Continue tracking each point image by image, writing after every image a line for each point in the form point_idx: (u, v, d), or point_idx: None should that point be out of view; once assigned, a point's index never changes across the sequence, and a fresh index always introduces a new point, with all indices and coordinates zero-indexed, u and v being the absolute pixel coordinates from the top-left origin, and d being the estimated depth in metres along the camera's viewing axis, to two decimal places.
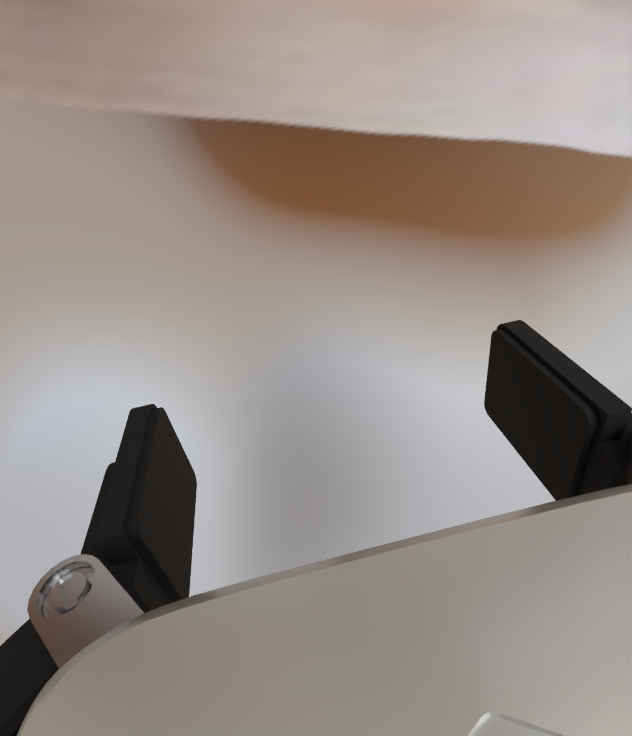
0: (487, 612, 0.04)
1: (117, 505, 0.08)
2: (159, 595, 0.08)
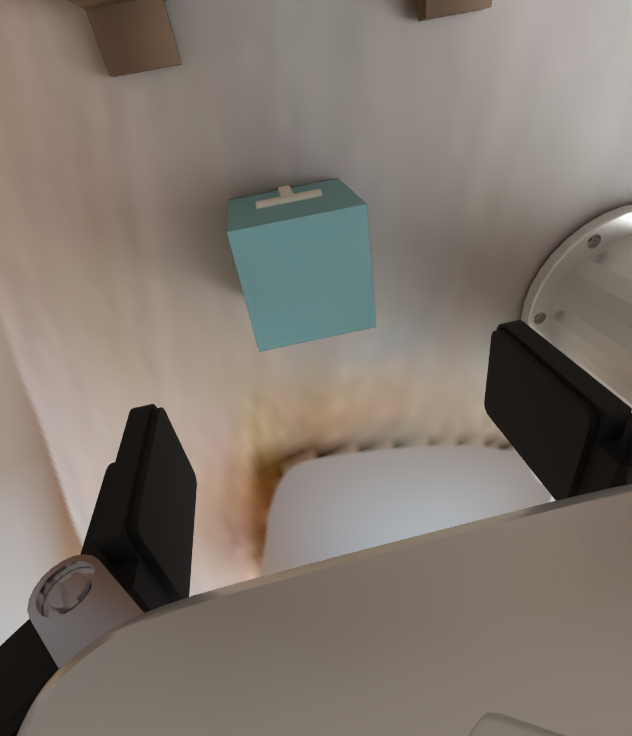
0: (487, 612, 0.04)
1: (117, 505, 0.08)
2: (159, 595, 0.08)
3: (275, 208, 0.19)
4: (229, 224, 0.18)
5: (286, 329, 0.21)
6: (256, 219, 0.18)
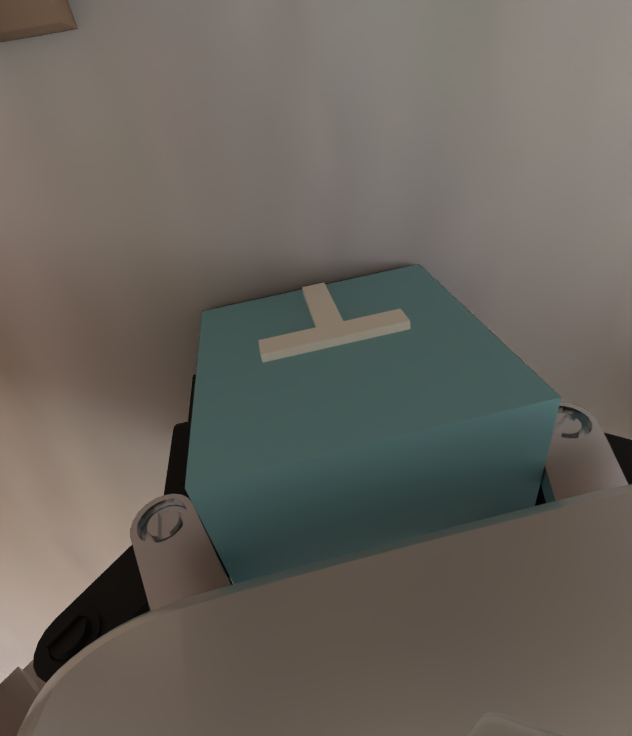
0: (487, 612, 0.04)
1: None
2: None
3: (307, 371, 0.08)
4: (196, 435, 0.07)
5: None
6: (265, 422, 0.07)
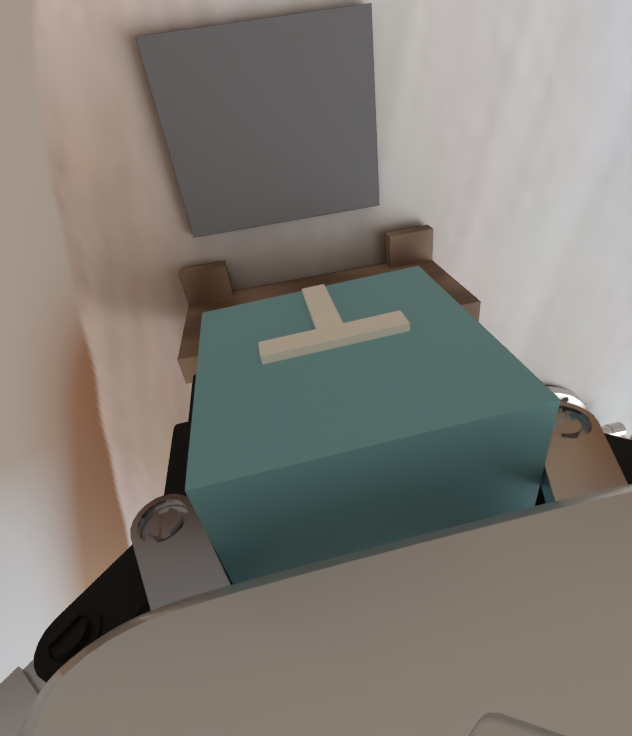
0: (487, 612, 0.04)
1: None
2: None
3: (307, 373, 0.08)
4: (195, 438, 0.07)
5: None
6: (264, 424, 0.07)
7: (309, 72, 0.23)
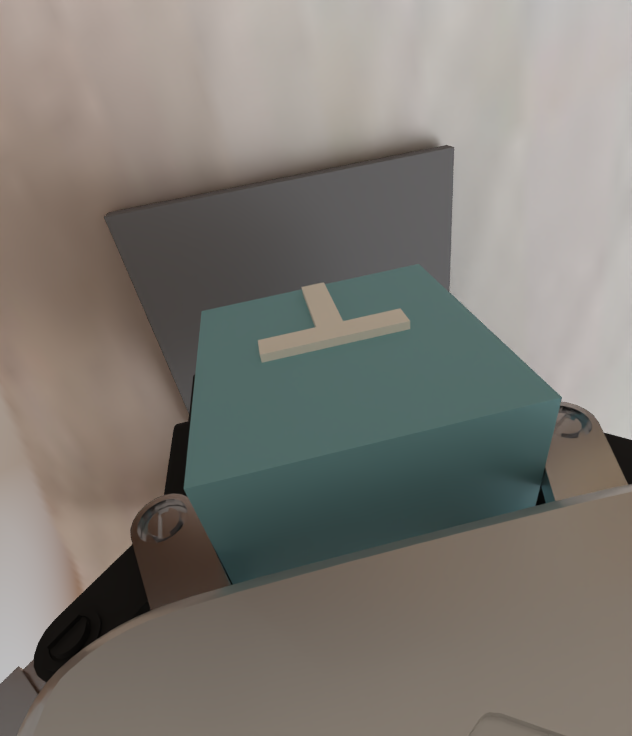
0: (487, 612, 0.04)
1: None
2: None
3: (307, 371, 0.08)
4: (195, 436, 0.07)
5: None
6: (264, 422, 0.07)
7: (360, 239, 0.16)
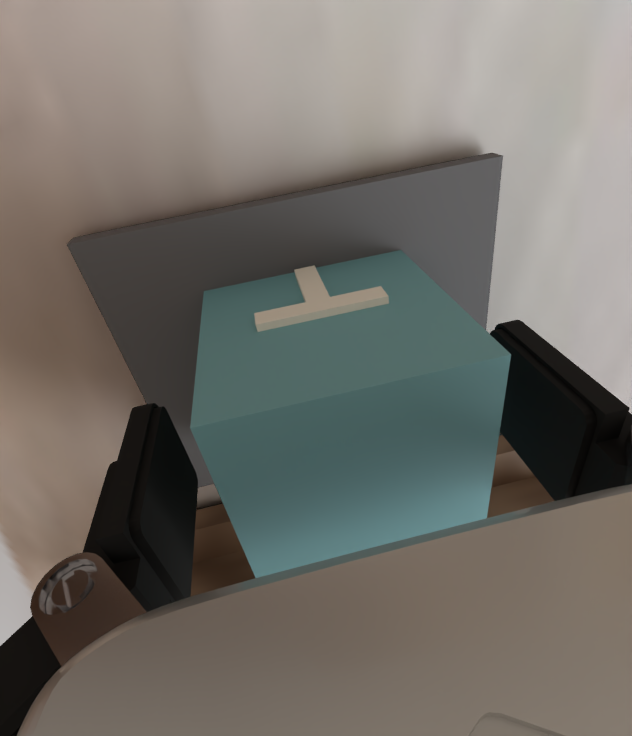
0: (487, 612, 0.04)
1: (119, 503, 0.08)
2: (161, 593, 0.09)
3: (297, 337, 0.09)
4: (199, 389, 0.08)
5: None
6: (259, 377, 0.08)
7: None
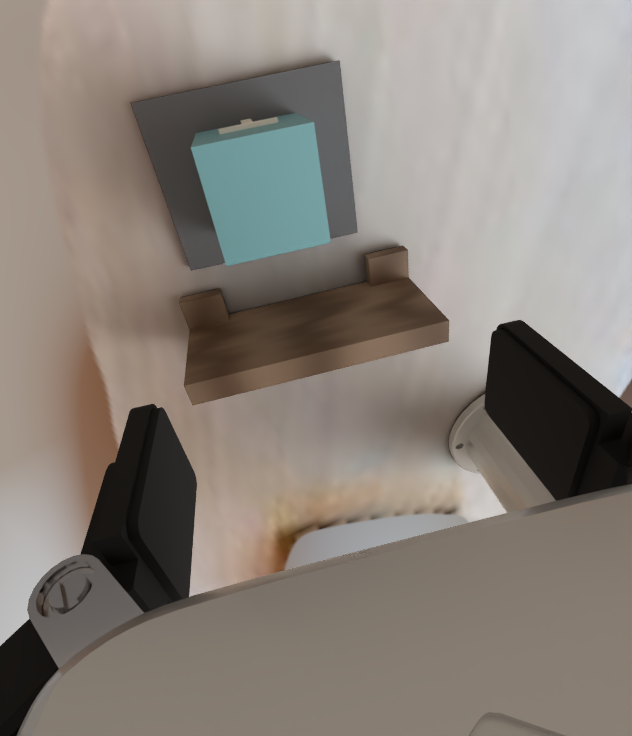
0: (487, 612, 0.04)
1: (117, 505, 0.08)
2: (159, 595, 0.08)
3: (235, 132, 0.22)
4: (193, 143, 0.21)
5: (249, 244, 0.23)
6: (217, 139, 0.21)
7: None
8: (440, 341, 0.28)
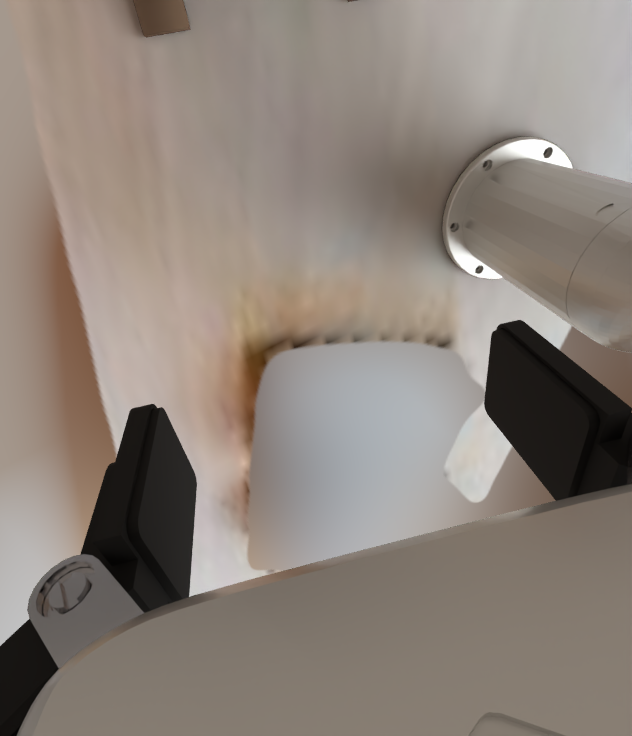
0: (486, 612, 0.04)
1: (117, 505, 0.08)
2: (159, 595, 0.08)
3: None
4: None
5: None
6: None
7: None
8: None
